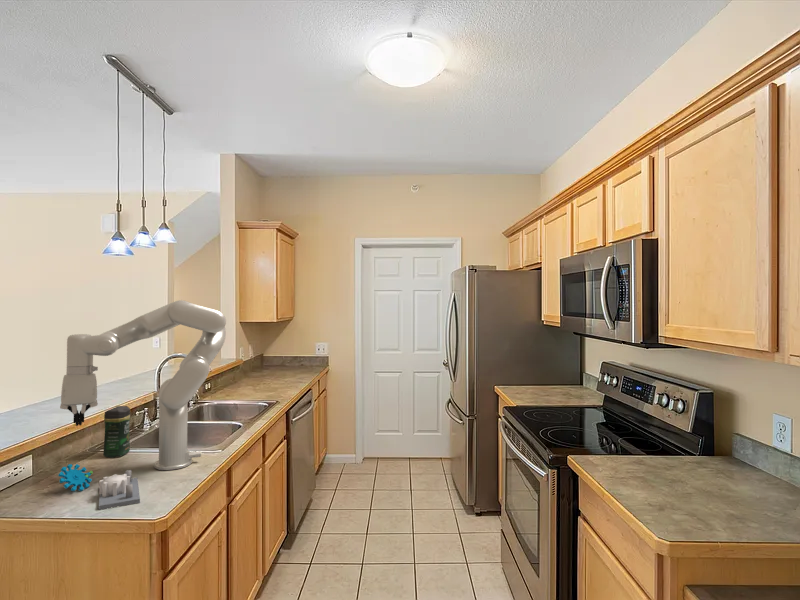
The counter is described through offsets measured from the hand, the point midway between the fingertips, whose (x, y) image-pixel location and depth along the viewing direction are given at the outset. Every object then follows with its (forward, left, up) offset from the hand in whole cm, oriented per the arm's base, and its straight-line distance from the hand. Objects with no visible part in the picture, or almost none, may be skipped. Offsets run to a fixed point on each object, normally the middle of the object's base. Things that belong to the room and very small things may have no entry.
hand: (78, 424), depth 168 cm
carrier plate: (-12, +23, -18) cm, 32 cm away
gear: (0, +11, -18) cm, 21 cm away
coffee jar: (-11, -22, -18) cm, 31 cm away
